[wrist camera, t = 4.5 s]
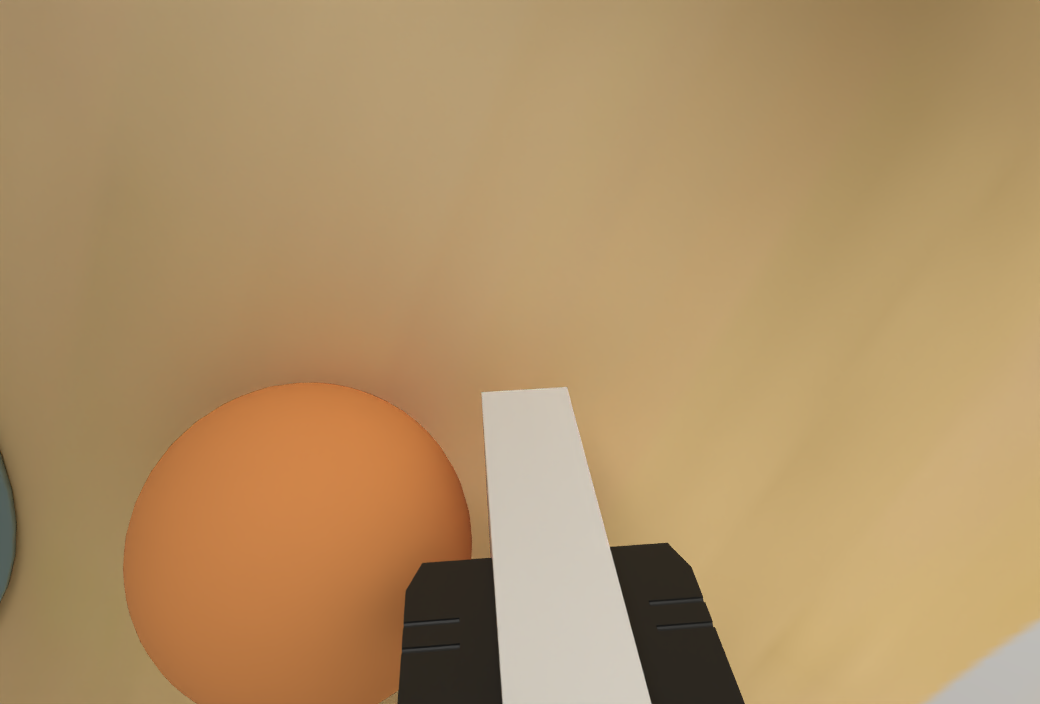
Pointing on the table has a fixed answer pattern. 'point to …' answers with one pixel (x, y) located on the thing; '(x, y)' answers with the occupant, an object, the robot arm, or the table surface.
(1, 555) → the mark
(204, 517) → the ball
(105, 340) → the table surface
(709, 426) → the table surface
